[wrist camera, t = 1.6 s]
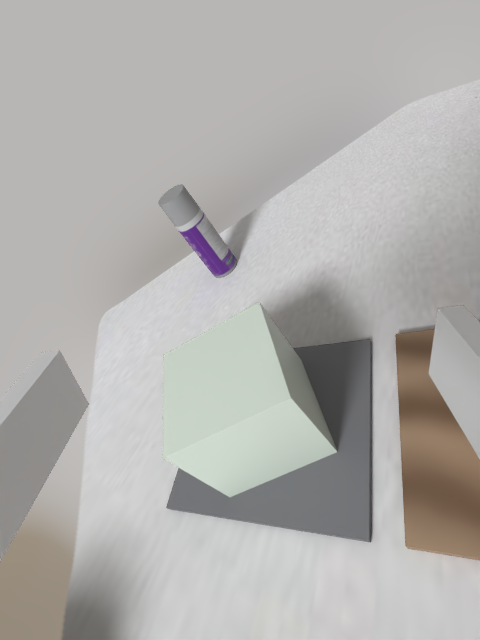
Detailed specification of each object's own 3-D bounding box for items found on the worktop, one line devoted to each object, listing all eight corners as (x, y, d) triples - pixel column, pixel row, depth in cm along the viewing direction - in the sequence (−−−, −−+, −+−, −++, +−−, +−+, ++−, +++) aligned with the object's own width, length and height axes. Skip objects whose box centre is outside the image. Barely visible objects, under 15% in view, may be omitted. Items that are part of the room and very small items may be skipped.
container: (209, 278, 61) (152, 208, 51) (220, 259, 63) (168, 187, 53) (230, 277, 58) (173, 201, 48) (241, 256, 60) (189, 180, 50)
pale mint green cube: (217, 401, 42) (163, 355, 35) (301, 359, 39) (259, 301, 33) (229, 497, 33) (162, 458, 27) (337, 452, 31) (290, 397, 25)
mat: (215, 360, 47) (213, 358, 47) (371, 341, 37) (370, 339, 36) (169, 509, 36) (166, 507, 36) (370, 542, 26) (368, 540, 26)
